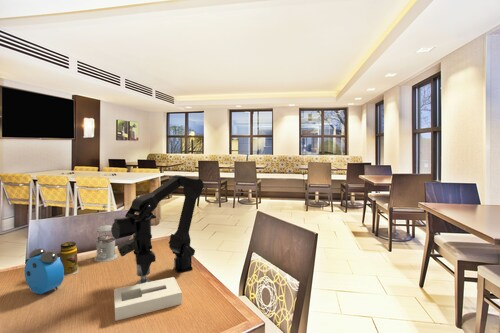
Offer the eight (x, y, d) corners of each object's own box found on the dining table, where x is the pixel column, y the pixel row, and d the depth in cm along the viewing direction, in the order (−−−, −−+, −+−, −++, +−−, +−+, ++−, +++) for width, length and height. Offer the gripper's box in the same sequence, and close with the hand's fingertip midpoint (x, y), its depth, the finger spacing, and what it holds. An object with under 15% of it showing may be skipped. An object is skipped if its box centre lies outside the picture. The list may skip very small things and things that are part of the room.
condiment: (78, 273, 111) (78, 244, 111) (53, 278, 107) (52, 248, 106) (78, 266, 117) (77, 239, 117) (54, 271, 113) (53, 242, 112)
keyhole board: (174, 287, 101) (174, 276, 101) (181, 303, 91) (181, 292, 90) (114, 300, 92) (114, 289, 92) (115, 320, 81) (114, 308, 81)
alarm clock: (65, 290, 98) (64, 250, 97) (46, 299, 92) (45, 256, 91) (42, 283, 103) (41, 244, 102) (24, 290, 97) (22, 250, 96)
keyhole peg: (149, 281, 105) (148, 259, 104) (150, 287, 101) (150, 263, 100) (136, 284, 103) (136, 261, 102) (137, 290, 99) (137, 266, 98)
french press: (101, 263, 120) (100, 208, 118) (87, 257, 126) (86, 205, 125) (122, 256, 129) (121, 204, 127) (108, 251, 135) (107, 201, 133)
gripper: (117, 227, 105) (118, 267, 106) (119, 243, 88) (120, 289, 89) (148, 224, 110) (148, 261, 111) (155, 238, 93) (156, 282, 95)
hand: (143, 272), depth 101 cm, fingers closed on keyhole peg, 5 cm apart
